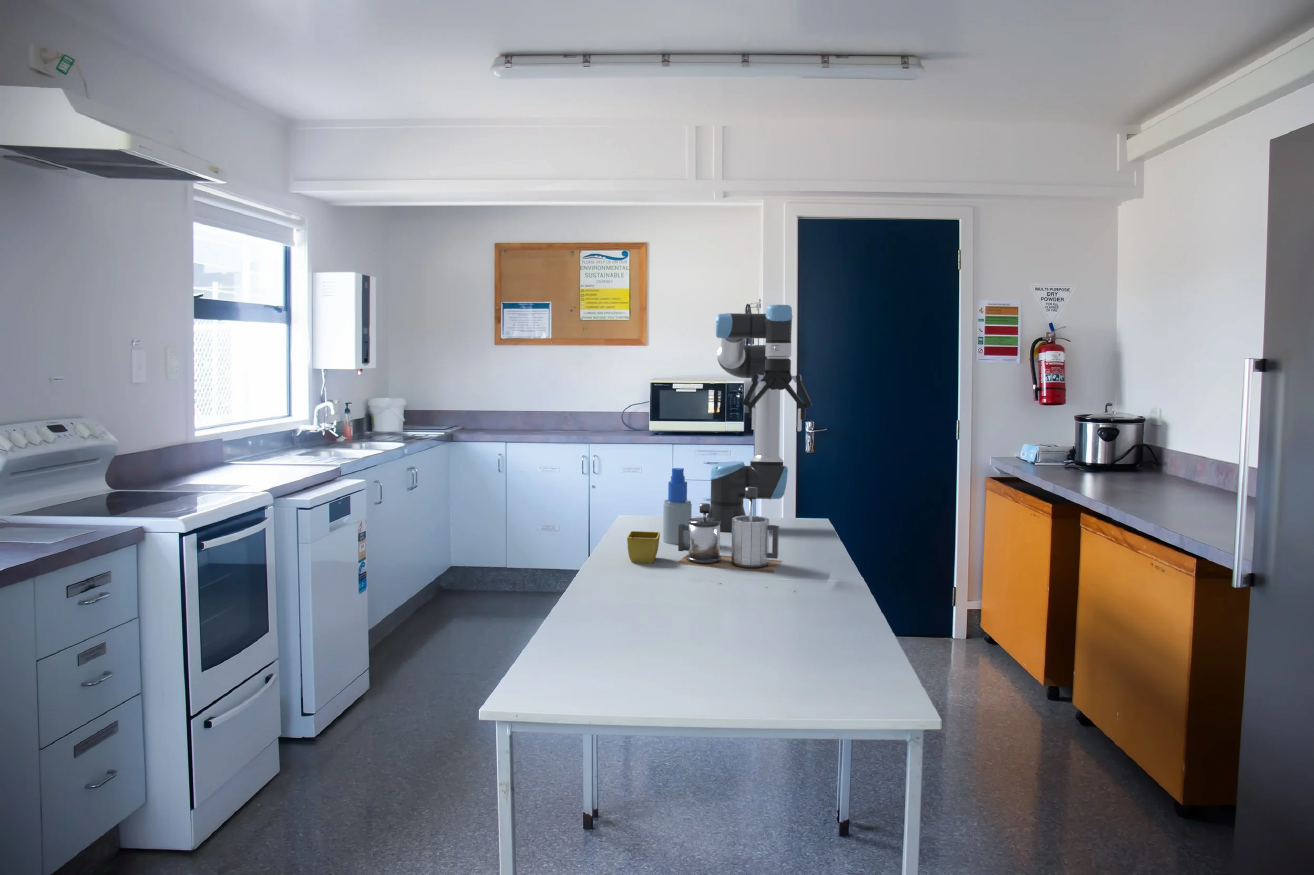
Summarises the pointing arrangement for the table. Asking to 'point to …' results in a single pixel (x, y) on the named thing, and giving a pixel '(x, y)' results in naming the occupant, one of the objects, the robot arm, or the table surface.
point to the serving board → (727, 564)
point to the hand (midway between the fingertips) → (776, 430)
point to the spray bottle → (676, 508)
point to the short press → (701, 538)
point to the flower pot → (643, 546)
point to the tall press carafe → (753, 542)
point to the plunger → (750, 494)
